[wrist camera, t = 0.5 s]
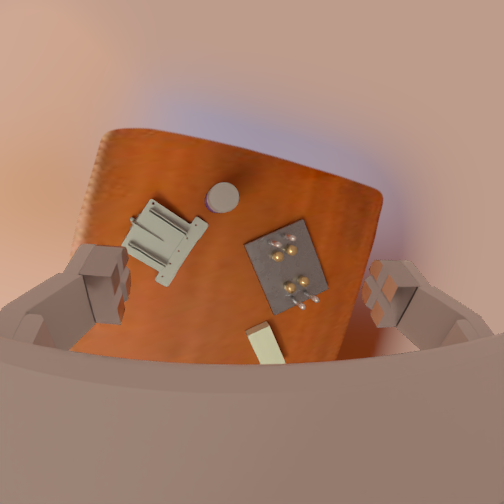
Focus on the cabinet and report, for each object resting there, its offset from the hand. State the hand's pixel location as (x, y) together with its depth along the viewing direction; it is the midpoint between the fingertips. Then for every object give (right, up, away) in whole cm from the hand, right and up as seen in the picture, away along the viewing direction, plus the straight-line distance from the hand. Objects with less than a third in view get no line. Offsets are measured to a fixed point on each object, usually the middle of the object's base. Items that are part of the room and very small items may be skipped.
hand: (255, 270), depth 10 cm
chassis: (+7, -2, +54) cm, 54 cm away
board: (+2, -20, +55) cm, 59 cm away
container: (-7, +11, +49) cm, 51 cm away
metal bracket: (-18, +3, +49) cm, 52 cm away
